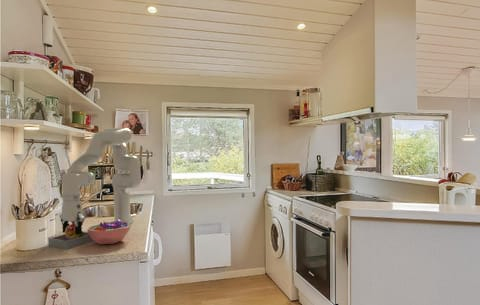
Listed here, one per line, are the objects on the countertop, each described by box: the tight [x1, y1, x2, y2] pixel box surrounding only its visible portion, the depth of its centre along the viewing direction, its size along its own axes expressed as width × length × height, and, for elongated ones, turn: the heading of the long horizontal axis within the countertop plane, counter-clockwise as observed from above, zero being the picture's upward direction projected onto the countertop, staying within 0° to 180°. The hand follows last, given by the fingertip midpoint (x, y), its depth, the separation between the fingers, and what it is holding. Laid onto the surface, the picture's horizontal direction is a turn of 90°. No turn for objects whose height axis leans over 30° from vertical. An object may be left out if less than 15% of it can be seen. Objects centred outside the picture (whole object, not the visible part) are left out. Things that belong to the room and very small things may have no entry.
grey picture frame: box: [47, 231, 94, 250], centre depth 147 cm, size 15×13×4 cm
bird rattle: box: [64, 222, 85, 240], centre depth 147 cm, size 6×11×9 cm
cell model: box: [87, 219, 132, 245], centre depth 146 cm, size 17×20×11 cm
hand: (72, 232), depth 147 cm, fingers closed on bird rattle, 8 cm apart
